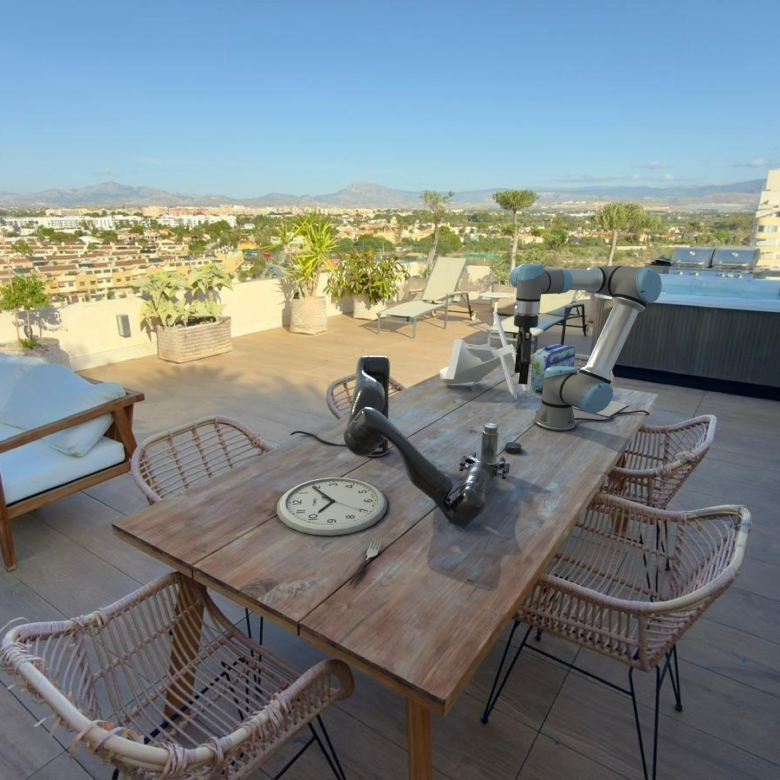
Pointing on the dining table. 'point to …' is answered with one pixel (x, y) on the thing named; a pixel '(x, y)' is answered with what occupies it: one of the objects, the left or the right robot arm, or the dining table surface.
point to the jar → (489, 443)
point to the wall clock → (331, 506)
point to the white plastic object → (479, 361)
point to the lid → (513, 447)
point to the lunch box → (550, 362)
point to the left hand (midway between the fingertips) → (488, 457)
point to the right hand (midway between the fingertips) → (520, 378)
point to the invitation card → (611, 408)
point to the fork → (370, 554)
